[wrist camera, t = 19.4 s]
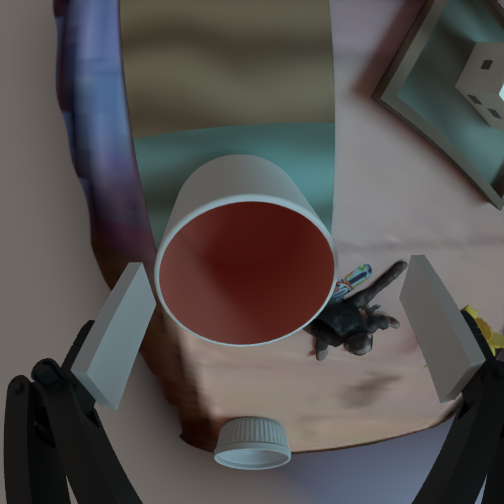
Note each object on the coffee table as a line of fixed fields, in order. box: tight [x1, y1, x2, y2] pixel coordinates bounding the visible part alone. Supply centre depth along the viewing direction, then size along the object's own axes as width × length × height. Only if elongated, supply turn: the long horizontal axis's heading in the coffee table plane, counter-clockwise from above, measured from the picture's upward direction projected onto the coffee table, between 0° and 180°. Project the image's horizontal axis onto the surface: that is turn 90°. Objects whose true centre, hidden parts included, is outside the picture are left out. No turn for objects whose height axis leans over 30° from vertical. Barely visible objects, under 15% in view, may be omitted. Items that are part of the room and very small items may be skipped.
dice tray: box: [371, 0, 504, 211], centre depth 16 cm, size 18×18×2 cm
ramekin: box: [214, 417, 291, 469], centre depth 44 cm, size 13×13×7 cm
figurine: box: [424, 306, 504, 368], centre depth 30 cm, size 12×12×9 cm
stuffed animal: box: [303, 262, 407, 361], centre depth 31 cm, size 12×10×12 cm
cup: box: [154, 154, 339, 347], centre depth 20 cm, size 10×10×10 cm
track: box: [120, 0, 335, 253], centre depth 17 cm, size 43×16×1 cm, turn 4°
